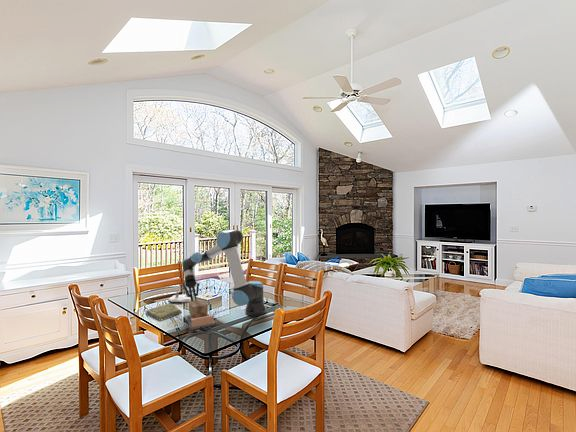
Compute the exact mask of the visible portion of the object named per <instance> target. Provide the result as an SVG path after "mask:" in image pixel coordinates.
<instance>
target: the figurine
mask: <svg viewBox="0 0 576 432" xmlns="http://www.w3.org/2000/svg"><path fill="white" fill-rule="evenodd" d="M183 285H185V279H184V280H183V283H179V286H182V287H183ZM181 290H182V293H181V294H180V293H179V292H178V291H177V292H175V294H174V295H172V296H171V297H169V298H168V300H169V302H172V303H189V302H190V301H191V298H190V297H188V296H187V294H186V293H185V294H184V293H183V292H184V289H183V288H181Z"/></svg>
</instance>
